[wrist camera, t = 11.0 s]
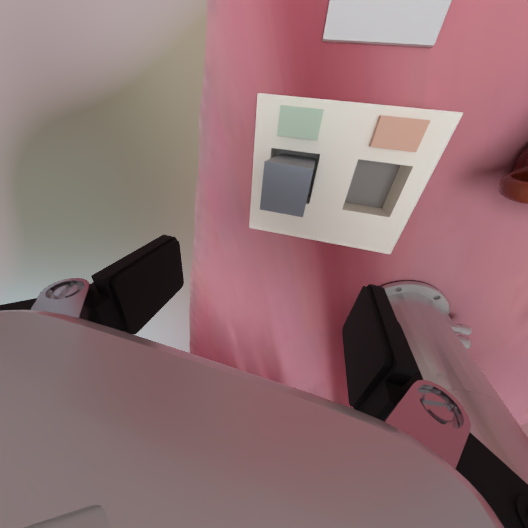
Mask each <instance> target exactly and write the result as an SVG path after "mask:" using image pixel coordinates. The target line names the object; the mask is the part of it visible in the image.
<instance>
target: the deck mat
mask: <svg viewBox="0 0 528 528" xmlns="http://www.w3.org/2000/svg"><path fill="white" fill-rule="evenodd" d="M451 1H452V0H330V2H329V7H328V13H327V18H326V24H325V30H324V35H323V42H339V43H357V44H374V45H391V46H409V47H426V48H431V47H433V46H434V44H435V42H436V39H437V36H438V34H439V31H440V29H441V26H442V24H443V21H444V19H445V16H446V14H447V11H448V9H449V6H450V3H451Z"/></svg>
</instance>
